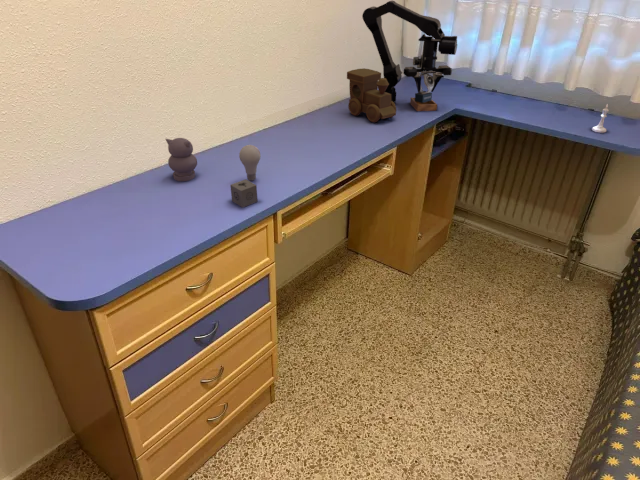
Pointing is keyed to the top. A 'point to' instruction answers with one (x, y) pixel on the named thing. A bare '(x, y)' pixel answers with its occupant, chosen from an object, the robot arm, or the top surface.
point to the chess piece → (601, 122)
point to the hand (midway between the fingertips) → (425, 92)
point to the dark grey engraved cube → (244, 193)
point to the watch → (424, 95)
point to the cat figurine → (181, 159)
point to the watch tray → (424, 105)
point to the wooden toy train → (369, 95)
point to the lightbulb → (250, 160)
